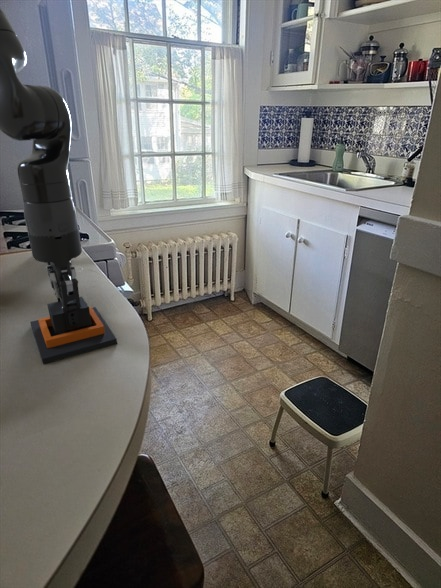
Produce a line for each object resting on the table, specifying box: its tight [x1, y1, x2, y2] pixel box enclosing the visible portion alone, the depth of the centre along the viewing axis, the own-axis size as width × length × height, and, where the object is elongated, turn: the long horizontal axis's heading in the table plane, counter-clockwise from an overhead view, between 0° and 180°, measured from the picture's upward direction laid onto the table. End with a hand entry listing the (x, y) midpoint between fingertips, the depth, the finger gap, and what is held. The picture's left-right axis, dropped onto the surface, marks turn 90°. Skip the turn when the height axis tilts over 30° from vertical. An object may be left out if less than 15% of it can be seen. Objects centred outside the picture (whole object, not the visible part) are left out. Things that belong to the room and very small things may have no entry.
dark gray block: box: [47, 296, 91, 333], centre depth 69 cm, size 6×5×4 cm
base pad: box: [30, 306, 118, 365], centre depth 70 cm, size 12×14×2 cm
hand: (70, 321), depth 69 cm, fingers closed on dark gray block, 5 cm apart
